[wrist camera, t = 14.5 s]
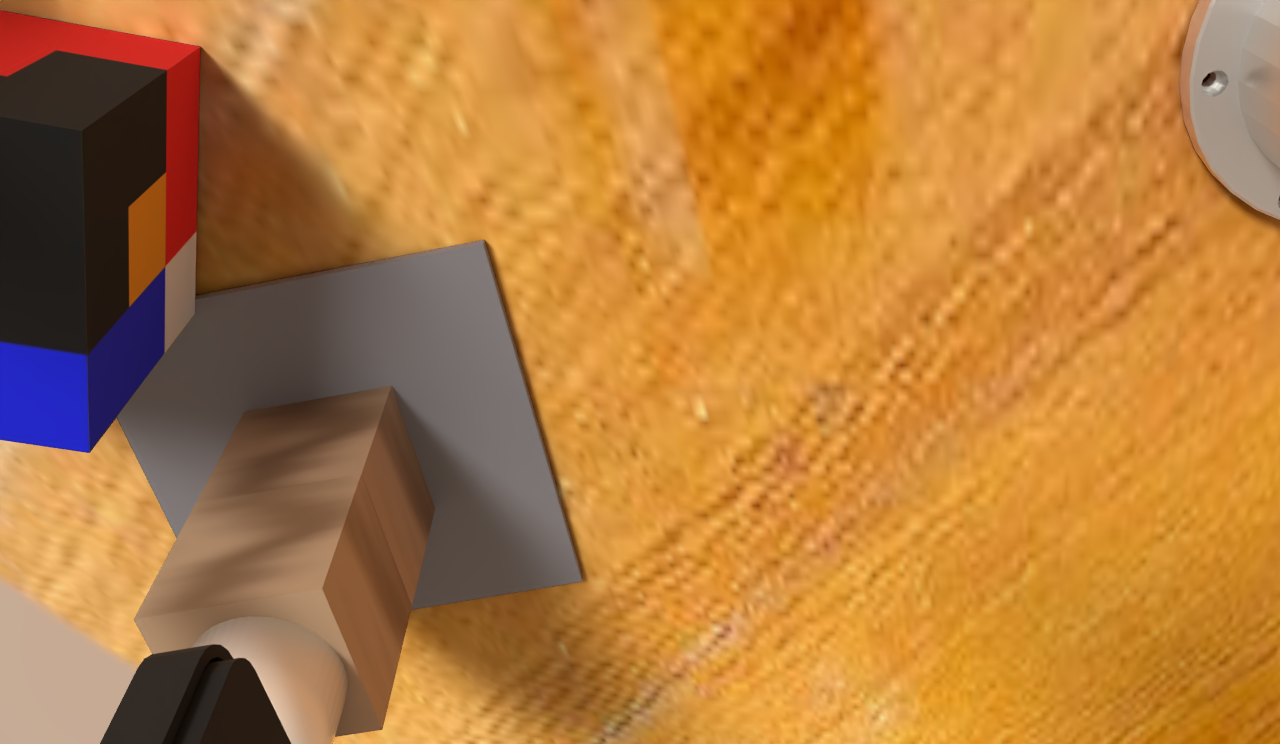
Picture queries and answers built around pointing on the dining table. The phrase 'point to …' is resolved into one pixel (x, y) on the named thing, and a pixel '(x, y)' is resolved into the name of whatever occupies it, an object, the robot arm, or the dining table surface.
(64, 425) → the puzzle toy
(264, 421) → the block
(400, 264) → the mat
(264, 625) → the ceramic cylinder
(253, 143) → the dining table surface
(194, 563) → the tower top
